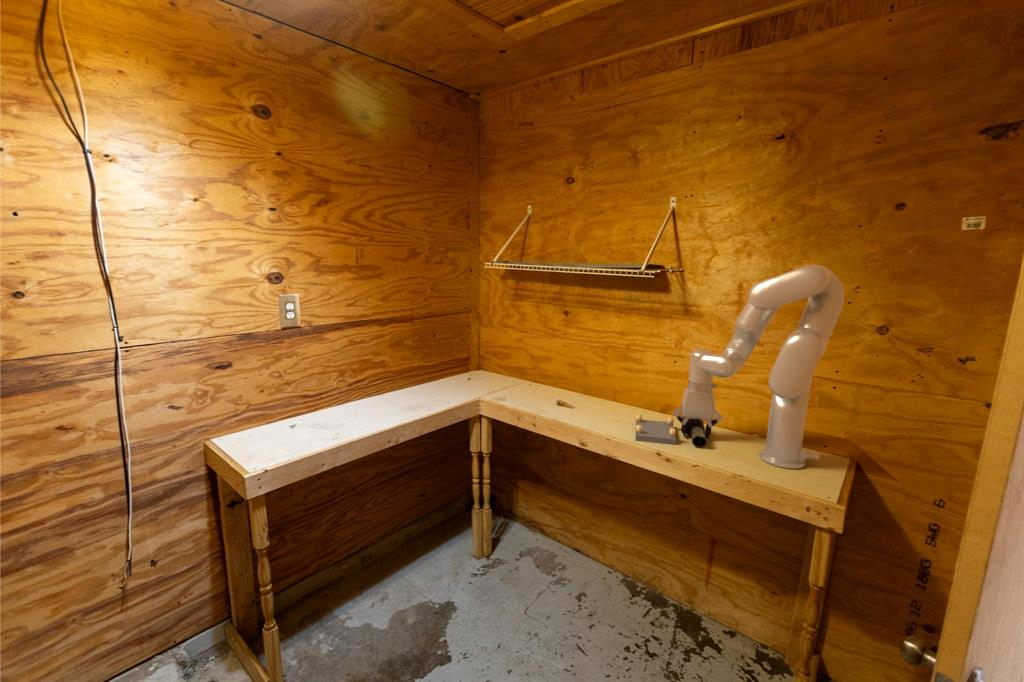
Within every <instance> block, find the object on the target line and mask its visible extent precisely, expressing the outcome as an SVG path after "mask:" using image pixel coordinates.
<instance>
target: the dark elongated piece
mask: <svg viewBox="0 0 1024 682" xmlns="http://www.w3.org/2000/svg"><path fill="white" fill-rule="evenodd" d="M686 425H687V429H686V436H691V443H692V445H693V446H695V448H697V449H704V448H706V447H707V446H708V439H707V438H706V435H705V430H706V426H705V424H704V420H700V419H690V418H689V419H688V421H687V422H686Z"/></svg>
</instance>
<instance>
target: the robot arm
mask: <svg viewBox="0 0 1024 682" xmlns="http://www.w3.org/2000/svg"><path fill="white" fill-rule="evenodd" d="M844 291H845V290H844V286H843V283H842V282H841V280H840V278H839V277H838V276H837V275H836V274H835V273H834V272H833V271H831V269H829V268H828V267H826V266H823V265H820V264H810V265H805V266H801V267H799V268H796V269H793V270H790V271H787V272H784V273H781V274H779V275H775V276H773V277H769V278H767V279H763V280H760V281H758V282H756V283H754V284H753V285H752V286H751V288H749V292H748V294H747V295H748V296H747V297H748V299H747V300H748V301H747V302H746V303H745V305H744V307H743V309H742V311H741V312H740V314H739V316H738V317H737V319H736V320H735V323H734V327H735V328H734V333H733V335H732V337H731V339H730V341H729V343H728V344H727V346H726V348H725V350H724V351H723V352H721V353H719V354H714V352H713V351H711V350H706V349H694V350H692V351H691V352H690V359H689V368H688V369H689V370H688V382H687V387H685V388H684V391H683V395H682V402H681V406H678V407H677V408H675V410H673V411H672V414H673V415H674V417H675V418H676V419H677V420H678V422H679V423H681V428H680V429H681V430H680V432H681V434H682V435H683V437H686V436H687V434H686V429H687V425H686V422H687V421H688V419H689V418H690V419H700V420H702V421H706V425H705V429H704V432H705V435H706V439H707V440H708V439H709V438H710V436H711V434H712V428H713V427H714V426H715V425H716V424H718V422H720V421H721V420H722V419H723V416H722V414H720V412H719V411H717V409H715V395H714V390H713V389H717V387H718V385H717V384H716V383H714V382H713V379H714V377H718V378H723V379H727V378H730V377H732V376H733V375H735V374H736V373H737V372H739V371H740V370H741V369H742V368H743V367H744V365H745V364H746V362H747V361H748V359H749V357H750V356H751V354H752V353H753V351H754V349H755V348H756V346H757V344H758V342H759V341H760V340H761V338H762V336H763V334H764V332H765V331H766V329H767V327H768V326H769V324H770V323H771V322H772V320H773V318H774V316H775V315H776V313H777V312H778V310H779V309H780V307H782V306H785V305H788V304H792V303H795V302H799V301H801V300H805V299H807V302H806V305H805V307H804V309H803V311H802V314H801V316H800V319H799V321H798V323H797V325H796V328H795V329H794V331H793V332H792V333H791V334H790V335H788V336H787V337H786V338H785V340H784V342H783V343H782V346H781V349H780V350H779V352H778V355H777V357H776V360H775V363H774V364H773V367H772V369H771V371H770V373H769V375H768V376H769V377H768V381H767V382H768V387H769V389H770V391H771V393H772V394H771V401H770V407H769V415H768V425H767V432H766V433H767V434H766V442H765V448H763V449H761V450H759V452H758V456H759V458H760V459H761V460H762V461H763V462H766V463H767V464H770V465H771V466H774V467H779V468H783V469H790V470H791V469H792V470H795V469H797V470H798V469H802V468H804V467H806V464H807V460H809V459H811V460H815V461H816V460H817V461H818V460H820V454H819V453H818V452H817V453H815V452H812V450H809V449H803V442H804V441H803V440H804V434H805V427H806V426H805V425H806V418H807V413H808V406H809V399H810V394H811V389H812V384H813V374H814V372H815V370H816V368H817V366H818V364H819V362H820V361H821V358H822V357H823V354H824V353H825V351H826V349H827V345H828V342H829V339H830V338H831V335H832V333H833V331H834V329H835V326H836V324H837V321H838V319H839V317H840V315H841V312H842V309H843V307H844V302H845V292H844ZM680 413H681V414H682V416H681V415H680ZM714 416H716V417H714Z"/></svg>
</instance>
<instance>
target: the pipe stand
mask: <svg viewBox="0 0 1024 682" xmlns="http://www.w3.org/2000/svg"><path fill="white" fill-rule="evenodd" d="M635 417H636V418H635V441H636V442H645V443H653V444H664V445H665V444H666V445H674V446H676V444H677V438H676V437H677V428H675V427H674V421H675V420H674V417H673V416H668V417H667V421H662V420H652V419H643V415H642V414H640V413H638V414H636V416H635Z"/></svg>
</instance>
